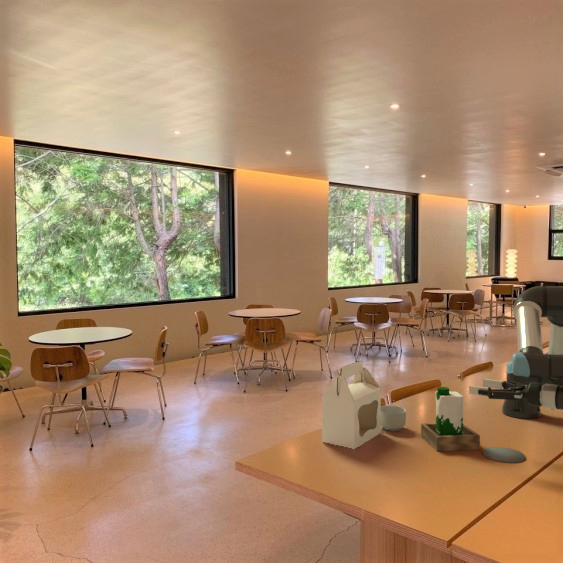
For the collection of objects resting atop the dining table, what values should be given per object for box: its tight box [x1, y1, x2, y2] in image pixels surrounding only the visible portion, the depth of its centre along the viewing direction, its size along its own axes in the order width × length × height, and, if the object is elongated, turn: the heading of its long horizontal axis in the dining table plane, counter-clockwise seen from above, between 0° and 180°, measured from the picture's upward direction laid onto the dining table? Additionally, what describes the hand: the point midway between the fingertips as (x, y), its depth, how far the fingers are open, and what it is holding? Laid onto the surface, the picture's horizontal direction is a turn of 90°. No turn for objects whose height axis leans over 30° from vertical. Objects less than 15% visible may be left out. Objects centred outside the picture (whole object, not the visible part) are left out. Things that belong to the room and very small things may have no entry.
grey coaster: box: [482, 446, 526, 464], centre depth 175 cm, size 13×13×1 cm
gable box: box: [321, 360, 382, 450], centre depth 194 cm, size 22×13×28 cm, turn 144°
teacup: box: [381, 404, 407, 432], centre depth 205 cm, size 14×11×8 cm
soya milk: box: [435, 386, 464, 436], centre depth 187 cm, size 9×9×20 cm
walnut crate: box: [420, 422, 481, 452], centre depth 188 cm, size 15×15×5 cm
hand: (476, 386), depth 181 cm, fingers open, 13 cm apart
